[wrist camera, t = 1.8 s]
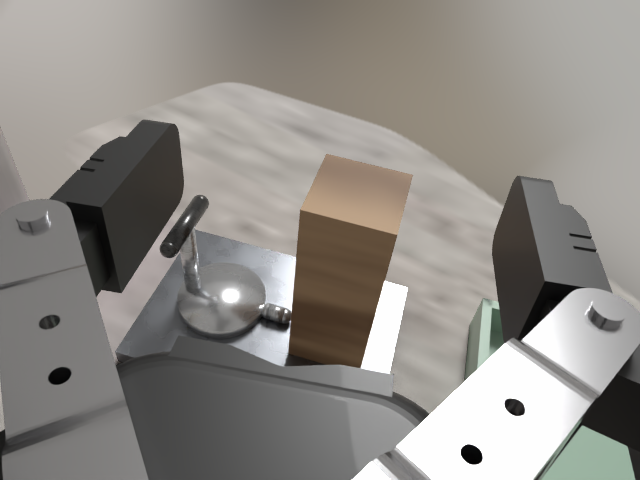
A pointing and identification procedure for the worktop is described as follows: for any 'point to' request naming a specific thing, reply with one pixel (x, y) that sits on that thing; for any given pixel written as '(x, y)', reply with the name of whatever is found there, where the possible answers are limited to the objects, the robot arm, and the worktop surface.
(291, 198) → the worktop surface
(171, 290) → the crank bed
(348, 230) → the brown wooden block
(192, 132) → the worktop surface
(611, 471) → the tray
